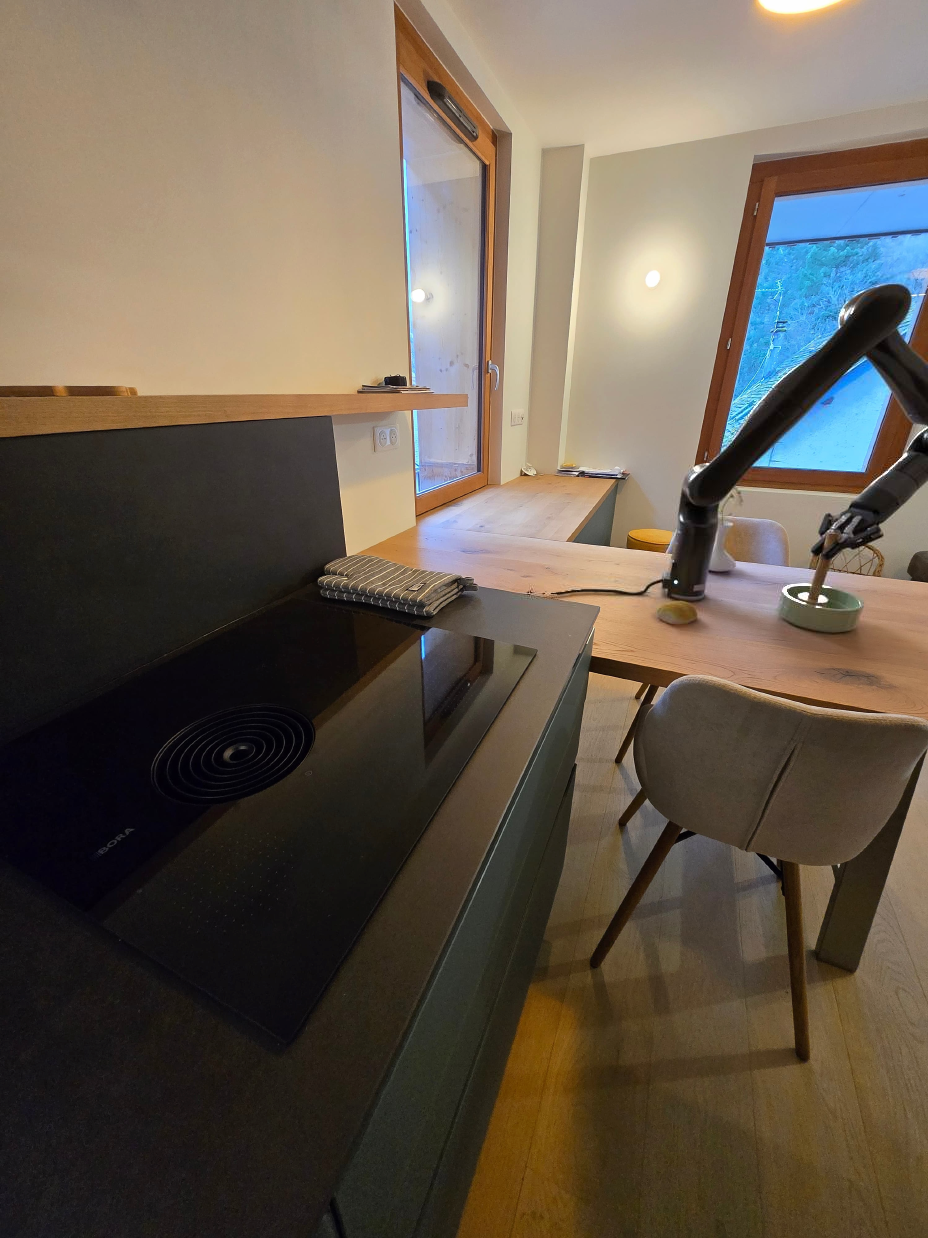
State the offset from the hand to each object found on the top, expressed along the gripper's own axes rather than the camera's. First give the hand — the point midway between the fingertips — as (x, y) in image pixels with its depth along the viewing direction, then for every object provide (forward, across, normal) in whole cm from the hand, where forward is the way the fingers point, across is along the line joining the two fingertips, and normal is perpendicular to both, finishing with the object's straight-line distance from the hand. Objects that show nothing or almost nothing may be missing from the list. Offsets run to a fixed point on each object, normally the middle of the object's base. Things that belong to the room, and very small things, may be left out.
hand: (819, 555), depth 110 cm
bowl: (+9, +1, +13) cm, 16 cm away
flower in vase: (+8, -36, +14) cm, 40 cm away
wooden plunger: (+8, 0, +11) cm, 13 cm away
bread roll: (+31, -8, -8) cm, 33 cm away
